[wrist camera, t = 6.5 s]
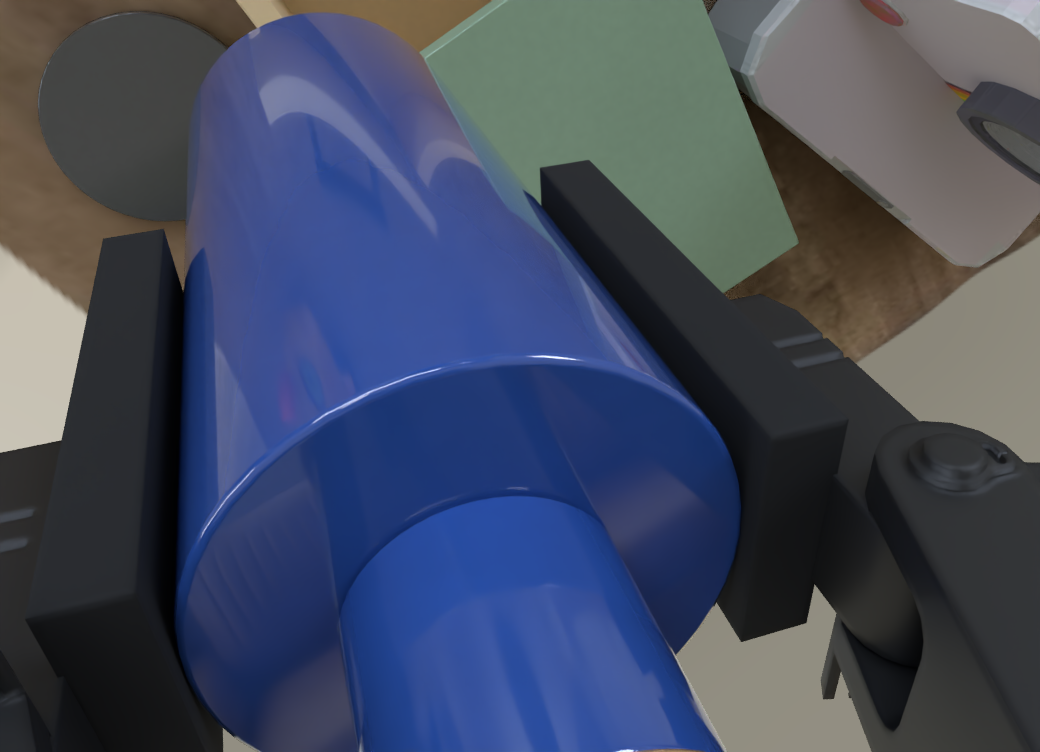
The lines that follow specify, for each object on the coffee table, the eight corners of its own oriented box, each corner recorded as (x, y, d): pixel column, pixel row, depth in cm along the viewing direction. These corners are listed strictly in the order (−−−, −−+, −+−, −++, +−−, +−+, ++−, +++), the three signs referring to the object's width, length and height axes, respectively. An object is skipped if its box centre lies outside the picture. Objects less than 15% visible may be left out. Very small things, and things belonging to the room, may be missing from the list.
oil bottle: (153, 29, 15) (-9, 943, 3) (444, -5, 16) (1102, 597, 4) (225, 289, 18) (274, 1266, 6) (467, 246, 19) (900, 1011, 7)
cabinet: (275, 76, 34) (293, 151, 28) (566, -133, 33) (659, -109, 27) (468, 326, 43) (518, 429, 37) (703, 167, 42) (799, 243, 35)
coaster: (-13, 94, 32) (-15, 98, 32) (164, -36, 31) (163, -34, 31) (149, 253, 37) (149, 258, 37) (305, 143, 36) (306, 146, 36)
